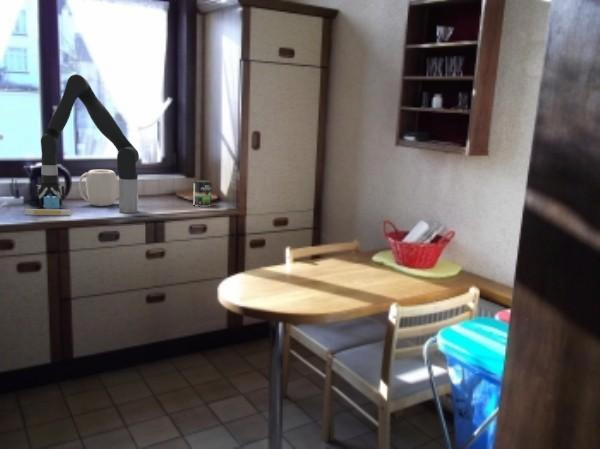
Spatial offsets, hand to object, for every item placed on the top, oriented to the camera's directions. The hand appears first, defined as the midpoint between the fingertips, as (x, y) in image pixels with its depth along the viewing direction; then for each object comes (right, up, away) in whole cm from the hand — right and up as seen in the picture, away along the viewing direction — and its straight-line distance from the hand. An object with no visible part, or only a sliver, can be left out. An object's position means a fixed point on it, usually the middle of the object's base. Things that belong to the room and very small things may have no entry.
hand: (50, 205), depth 287 cm
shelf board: (+6, -5, -12) cm, 15 cm away
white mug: (+19, +1, +23) cm, 30 cm away
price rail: (+7, -5, -18) cm, 19 cm away
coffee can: (+71, +1, +37) cm, 80 cm away
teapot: (0, -2, +1) cm, 2 cm away
